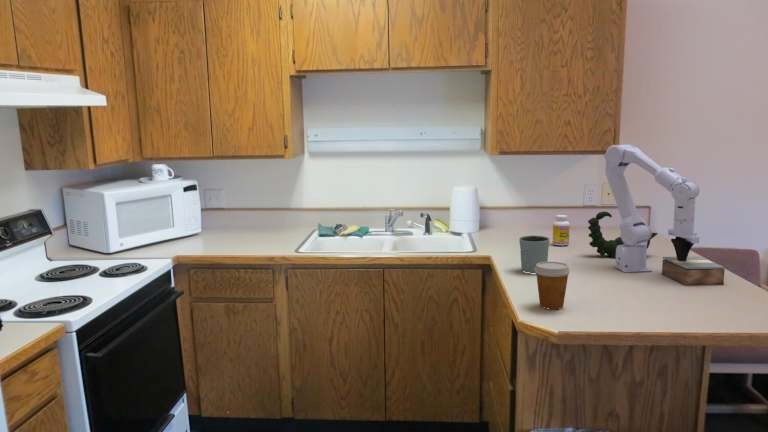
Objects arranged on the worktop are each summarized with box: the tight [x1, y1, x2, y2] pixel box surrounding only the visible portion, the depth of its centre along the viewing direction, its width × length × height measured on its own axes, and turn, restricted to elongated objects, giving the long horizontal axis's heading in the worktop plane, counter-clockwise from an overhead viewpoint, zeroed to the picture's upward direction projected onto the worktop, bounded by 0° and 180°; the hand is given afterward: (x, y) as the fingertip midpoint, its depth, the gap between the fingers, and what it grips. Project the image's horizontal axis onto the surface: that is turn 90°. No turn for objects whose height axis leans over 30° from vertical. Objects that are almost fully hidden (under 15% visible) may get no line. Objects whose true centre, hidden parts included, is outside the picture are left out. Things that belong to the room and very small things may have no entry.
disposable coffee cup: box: [535, 261, 571, 310], centre depth 151 cm, size 10×10×12 cm
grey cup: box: [519, 235, 550, 273], centre depth 188 cm, size 10×10×12 cm
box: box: [661, 259, 725, 287], centre depth 174 cm, size 12×14×5 cm
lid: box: [662, 256, 725, 269], centre depth 173 cm, size 12×14×1 cm
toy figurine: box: [587, 210, 658, 259], centre depth 205 cm, size 9×19×25 cm
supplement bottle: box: [552, 214, 571, 246], centre depth 228 cm, size 7×7×13 cm
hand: (681, 260), depth 174 cm, fingers closed, pressing on lid
